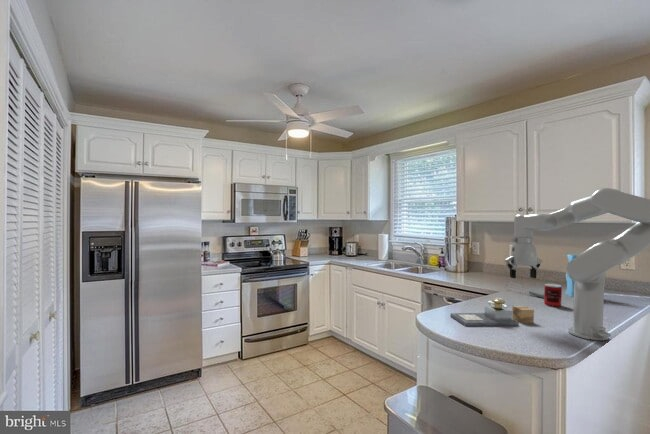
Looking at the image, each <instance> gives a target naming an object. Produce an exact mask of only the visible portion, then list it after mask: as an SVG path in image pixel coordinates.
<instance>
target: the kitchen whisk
mask: <svg viewBox="0 0 650 434" xmlns="http://www.w3.org/2000/svg"><path fill="white" fill-rule="evenodd" d="M514 286H518V288H517V291H518V290H519V293H522V292H525V293H526V294H529V295H532V296H534V297H537V298H542V299H544V293H542V292H540V291H535V290H532V289H528V288H526V287H525V290H524V286H521V287H520V288H519V284H518V283H517V282H514V281H512V285H511V281H509V282H507V283H505V286H504V288H506V289H507V288H508V287H509V291H512V289H513V291H514V292H516V287H514ZM510 288H511V289H510ZM522 288H523V289H522Z"/></svg>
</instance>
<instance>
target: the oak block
mask: <svg viewBox="0 0 650 434" xmlns="http://www.w3.org/2000/svg"><path fill="white" fill-rule="evenodd" d="M511 311H512V319H513V320H515V321H517V322H519V323H521V324H534V323H535V322H534V321H535V319H534V316H535V314H534V313H535V312H534V311H535V310H534V309H533V308H531V307H528V306H525V305H512V310H511Z"/></svg>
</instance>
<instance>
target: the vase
mask: <svg viewBox="0 0 650 434" xmlns="http://www.w3.org/2000/svg"><path fill="white" fill-rule="evenodd" d="M578 255H579V254H567V259H568V263H569V262H570V261H571V260H572V259H574V258H575V257H577V256H578ZM565 279H566V291H565V295H566V294H567V295H566V296H568V295H569V296H571V297H570V298H572V297H574V284H575V281H574V280H572V279H571V278H570V277H569V276H568V274H567V272H566V273H565ZM569 296H568V297H569Z"/></svg>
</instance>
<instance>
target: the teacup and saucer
mask: <svg viewBox="0 0 650 434" xmlns="http://www.w3.org/2000/svg"><path fill="white" fill-rule="evenodd" d="M495 299H501V300H503V298H502V297H495ZM487 303H488V304H489V306H494V302H492V300H488V301H487ZM502 306H503V307H504V308H506V307H508V306H507V304H505V303H502Z"/></svg>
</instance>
